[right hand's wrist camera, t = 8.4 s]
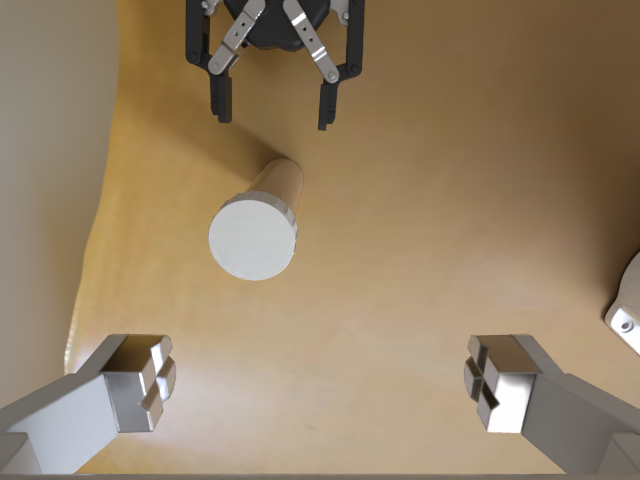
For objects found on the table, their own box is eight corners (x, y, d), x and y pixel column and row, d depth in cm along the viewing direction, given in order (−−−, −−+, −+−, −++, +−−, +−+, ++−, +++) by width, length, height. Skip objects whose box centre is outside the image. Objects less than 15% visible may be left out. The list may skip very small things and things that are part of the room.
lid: (306, 258, 27) (305, 272, 25) (230, 273, 28) (222, 289, 26) (286, 181, 25) (282, 189, 23) (205, 200, 26) (194, 209, 24)
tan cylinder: (308, 194, 43) (295, 263, 25) (268, 203, 43) (229, 277, 26) (298, 153, 41) (277, 197, 24) (256, 163, 42) (207, 213, 24)
